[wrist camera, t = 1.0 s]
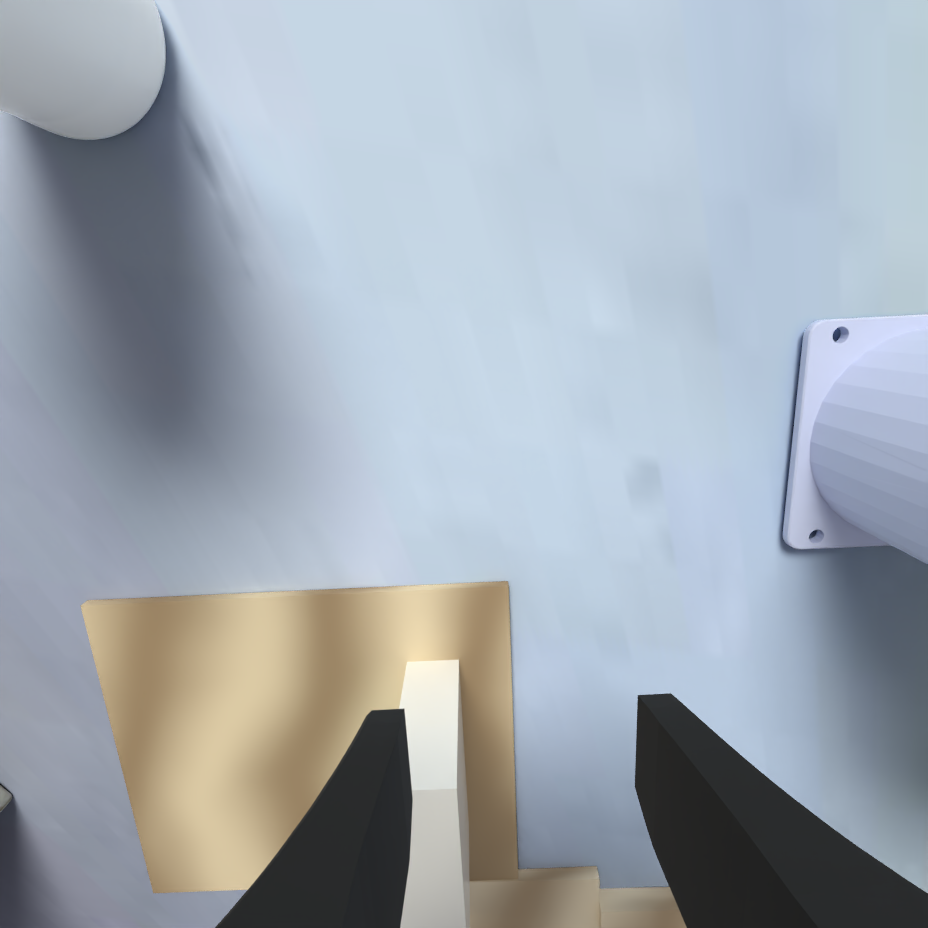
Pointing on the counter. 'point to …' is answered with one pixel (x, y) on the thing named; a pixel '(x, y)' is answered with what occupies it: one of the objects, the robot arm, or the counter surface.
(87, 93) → the drinking glass
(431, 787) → the white block
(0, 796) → the coffee box
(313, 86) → the counter surface
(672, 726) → the robot arm
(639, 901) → the beech spatula
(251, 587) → the counter surface
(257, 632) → the bamboo mat
